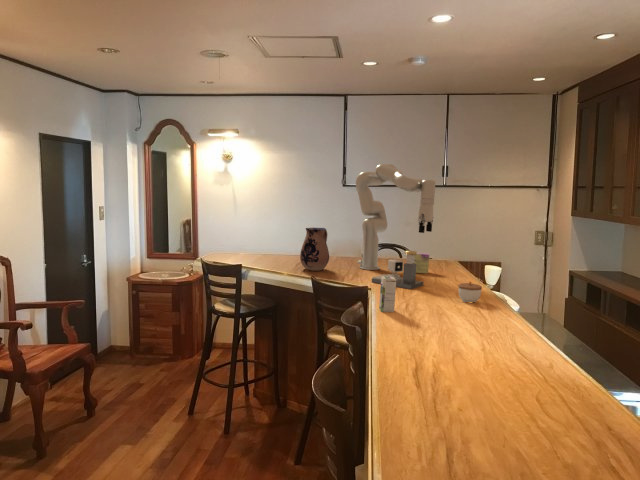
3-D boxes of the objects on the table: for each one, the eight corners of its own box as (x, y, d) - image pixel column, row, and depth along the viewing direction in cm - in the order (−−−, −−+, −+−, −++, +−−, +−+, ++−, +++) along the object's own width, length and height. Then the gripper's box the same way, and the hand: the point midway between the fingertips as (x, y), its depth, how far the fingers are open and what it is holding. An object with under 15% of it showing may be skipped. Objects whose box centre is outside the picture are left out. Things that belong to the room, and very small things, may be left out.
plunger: (401, 272, 276) (403, 251, 274) (407, 271, 280) (408, 250, 279) (412, 274, 272) (413, 252, 270) (417, 273, 277) (418, 251, 275)
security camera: (393, 278, 295) (394, 261, 293) (386, 276, 301) (387, 259, 299) (402, 278, 297) (403, 260, 296) (395, 275, 304) (396, 258, 302)
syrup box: (378, 308, 227) (380, 276, 226) (391, 308, 228) (393, 276, 226) (381, 312, 222) (383, 278, 220) (394, 312, 222) (396, 279, 220)
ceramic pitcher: (294, 270, 308) (296, 228, 305) (309, 265, 328) (310, 225, 324) (322, 273, 302) (323, 230, 298) (335, 268, 321) (336, 227, 318)
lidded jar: (463, 297, 255) (464, 278, 253) (484, 301, 248) (485, 282, 247) (453, 301, 246) (454, 281, 245) (475, 305, 240) (476, 285, 238)
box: (427, 272, 319) (428, 253, 318) (428, 273, 314) (429, 254, 312) (410, 271, 320) (411, 252, 319) (410, 272, 315) (411, 253, 313)
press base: (371, 282, 283) (372, 260, 281) (384, 278, 294) (385, 257, 292) (411, 289, 268) (412, 266, 267) (423, 285, 280) (424, 263, 278)
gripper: (427, 201, 301) (425, 230, 304) (414, 201, 287) (412, 232, 290) (439, 201, 297) (437, 231, 299) (427, 202, 283) (424, 233, 285)
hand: (425, 232), depth 294 cm, fingers open, 9 cm apart
